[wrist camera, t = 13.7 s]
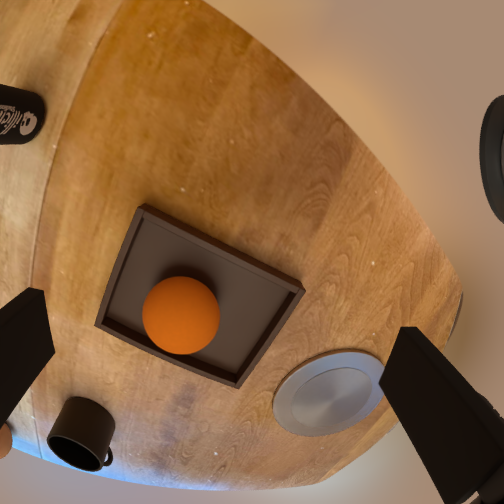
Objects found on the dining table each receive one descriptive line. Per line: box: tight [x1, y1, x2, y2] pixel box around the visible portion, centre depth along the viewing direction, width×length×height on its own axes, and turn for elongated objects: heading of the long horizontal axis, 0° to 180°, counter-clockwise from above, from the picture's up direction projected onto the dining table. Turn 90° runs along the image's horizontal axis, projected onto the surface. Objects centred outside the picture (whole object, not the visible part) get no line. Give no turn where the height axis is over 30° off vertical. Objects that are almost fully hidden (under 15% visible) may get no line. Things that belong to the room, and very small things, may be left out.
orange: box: [142, 276, 220, 354], centre depth 30 cm, size 8×8×8 cm
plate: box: [272, 349, 384, 437], centre depth 41 cm, size 18×18×1 cm
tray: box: [94, 203, 306, 389], centre depth 34 cm, size 20×16×3 cm
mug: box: [47, 397, 115, 472], centre depth 36 cm, size 9×12×9 cm
